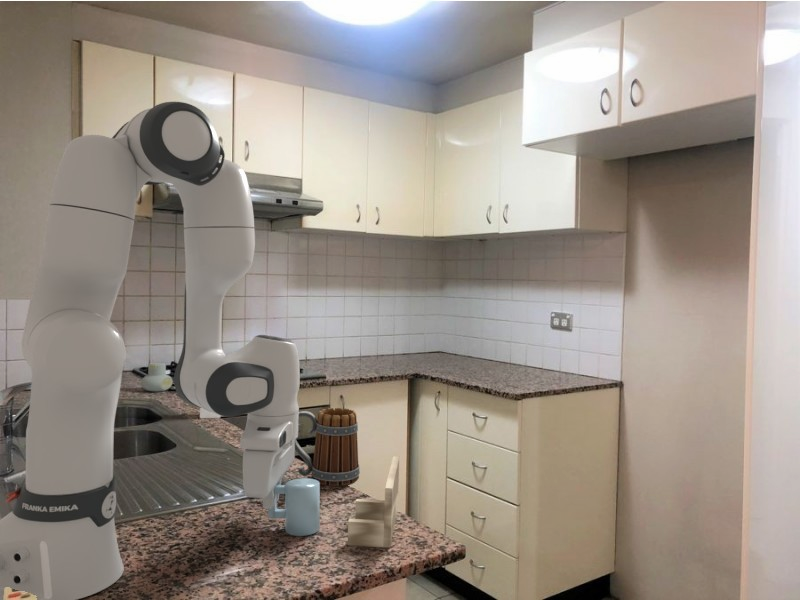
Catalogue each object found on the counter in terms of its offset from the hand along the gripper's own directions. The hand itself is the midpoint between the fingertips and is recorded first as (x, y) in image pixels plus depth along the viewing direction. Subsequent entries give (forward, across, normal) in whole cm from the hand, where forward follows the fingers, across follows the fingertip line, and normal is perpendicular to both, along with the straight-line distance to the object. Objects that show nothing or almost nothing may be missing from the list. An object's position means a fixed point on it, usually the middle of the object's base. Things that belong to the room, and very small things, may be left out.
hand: (270, 504), depth 108 cm
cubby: (+4, -4, +18) cm, 19 cm away
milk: (+4, -78, -40) cm, 88 cm away
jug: (+4, 0, +4) cm, 6 cm away
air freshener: (+4, -112, -74) cm, 134 cm away
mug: (+4, -27, +4) cm, 27 cm away
